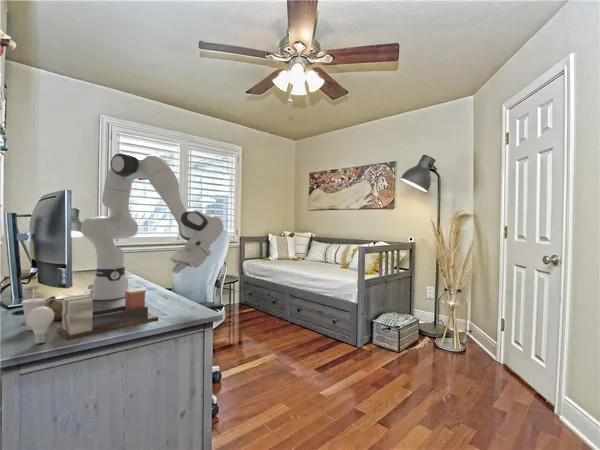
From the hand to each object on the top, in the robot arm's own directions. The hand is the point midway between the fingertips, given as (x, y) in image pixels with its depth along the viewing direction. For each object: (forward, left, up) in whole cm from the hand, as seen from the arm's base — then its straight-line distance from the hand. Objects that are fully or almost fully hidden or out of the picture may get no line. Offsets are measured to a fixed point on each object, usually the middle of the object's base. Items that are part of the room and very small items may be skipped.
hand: (174, 272), depth 128 cm
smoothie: (-14, -42, -16) cm, 47 cm away
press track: (0, -23, -16) cm, 28 cm away
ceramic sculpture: (-24, -35, -16) cm, 45 cm away
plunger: (0, -15, -15) cm, 21 cm away
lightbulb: (+4, -43, -16) cm, 46 cm away
